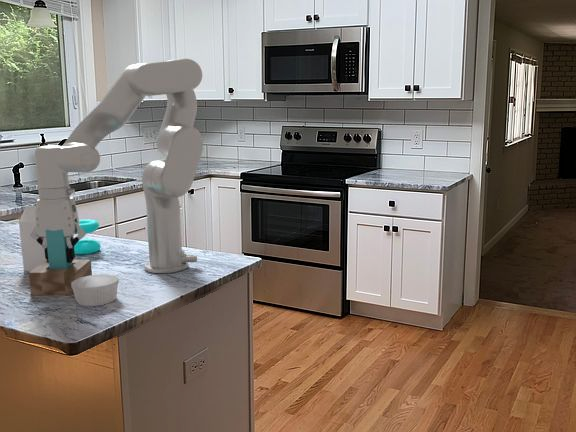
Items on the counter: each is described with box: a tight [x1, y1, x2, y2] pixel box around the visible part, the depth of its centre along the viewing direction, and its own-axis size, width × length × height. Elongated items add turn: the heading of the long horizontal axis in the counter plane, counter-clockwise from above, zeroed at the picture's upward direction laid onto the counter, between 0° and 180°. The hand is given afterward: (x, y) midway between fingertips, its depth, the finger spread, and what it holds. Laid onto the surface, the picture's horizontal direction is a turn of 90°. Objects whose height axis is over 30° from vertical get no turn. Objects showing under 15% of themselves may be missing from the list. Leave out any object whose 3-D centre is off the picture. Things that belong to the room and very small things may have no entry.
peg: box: [46, 229, 73, 269], centre depth 162 cm, size 4×4×12 cm
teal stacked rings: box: [74, 218, 101, 255], centre depth 201 cm, size 10×10×10 cm
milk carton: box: [18, 204, 47, 273], centre depth 181 cm, size 7×7×19 cm
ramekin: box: [71, 273, 120, 307], centre depth 154 cm, size 11×11×5 cm
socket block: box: [28, 259, 93, 296], centre depth 164 cm, size 12×12×6 cm
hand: (60, 261), depth 163 cm, fingers closed on peg, 4 cm apart
